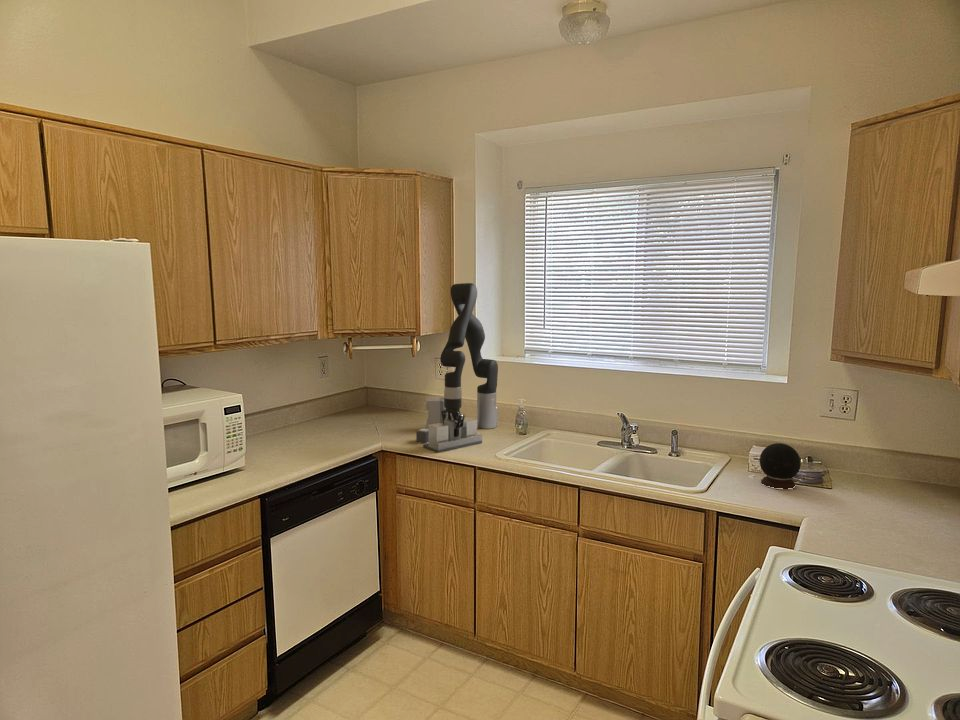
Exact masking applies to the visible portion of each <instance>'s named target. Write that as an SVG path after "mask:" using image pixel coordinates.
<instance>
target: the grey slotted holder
mask: <svg viewBox="0 0 960 720" xmlns="http://www.w3.org/2000/svg"><path fill="white" fill-rule="evenodd" d="M482 443H483V434H478V427H477V418H476V419H475V418H471V417H464V422H463V427H461V439H456V440H451V441H450V440H448V425H445V424H442V423H436V424H431V425H429V442H428V443H422V448H424V449H427V450H429V451H432V452H435V453H438V454H439V453H444V452H448V451H452V450H453V451H454V450H458V449H462V448H466V447H472V446H474V445H475V446H476V445H480V444H482Z"/></svg>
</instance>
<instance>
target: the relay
mask: <svg viewBox="0 0 960 720" xmlns="http://www.w3.org/2000/svg"><path fill="white" fill-rule="evenodd" d="M415 433H416V435H415V436H416V443H420V442H421V444H428V443H429V429H426V428H420V429H418V430H416V432H415ZM427 442H428V443H427Z"/></svg>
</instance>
